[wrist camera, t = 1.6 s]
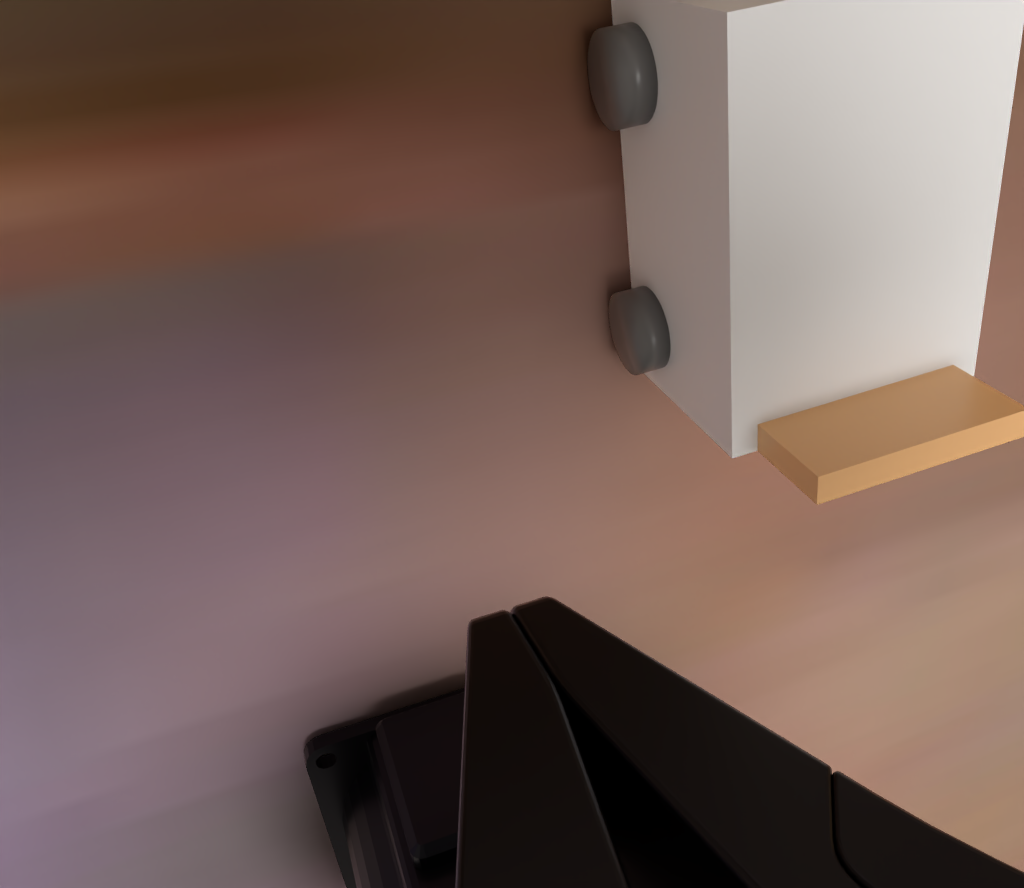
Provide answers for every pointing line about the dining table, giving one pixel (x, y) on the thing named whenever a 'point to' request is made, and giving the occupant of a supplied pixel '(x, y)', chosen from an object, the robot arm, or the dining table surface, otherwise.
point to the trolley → (813, 223)
